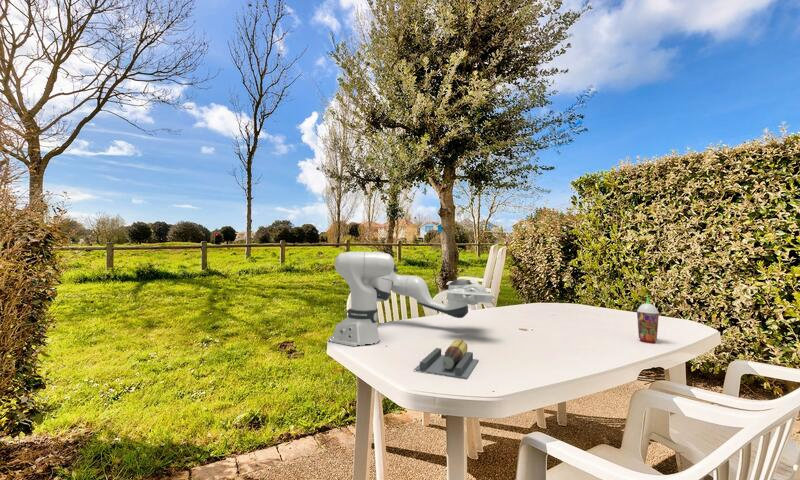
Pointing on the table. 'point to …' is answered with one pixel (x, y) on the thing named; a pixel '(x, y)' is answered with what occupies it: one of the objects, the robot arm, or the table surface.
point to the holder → (435, 366)
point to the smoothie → (647, 322)
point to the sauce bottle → (454, 354)
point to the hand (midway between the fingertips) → (466, 298)
